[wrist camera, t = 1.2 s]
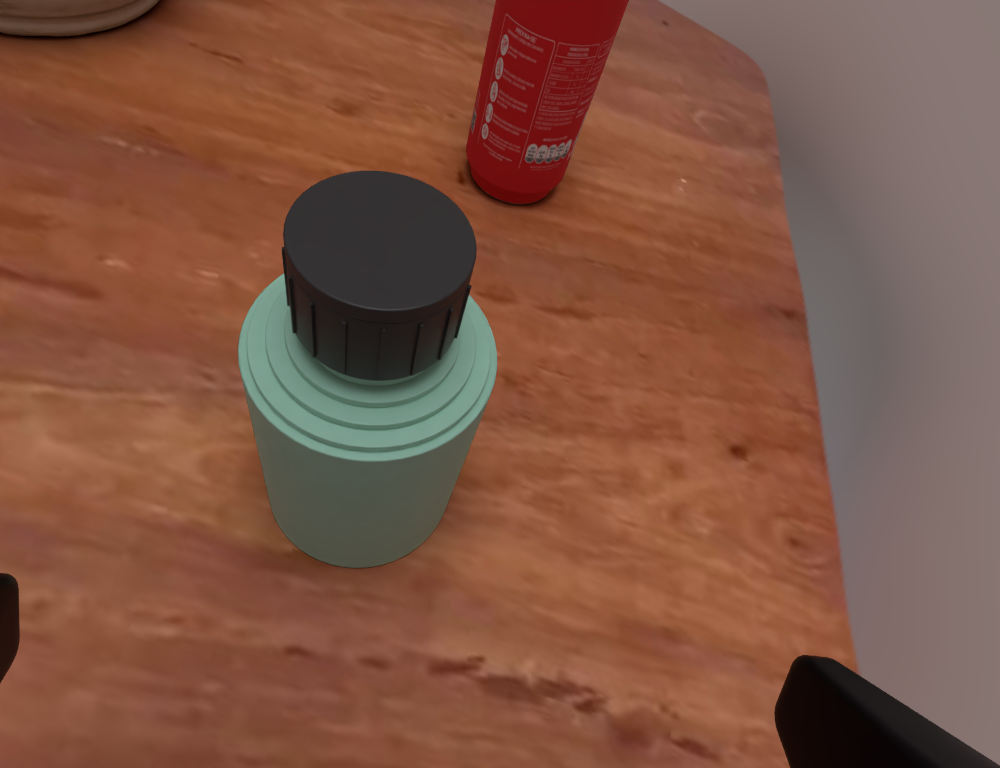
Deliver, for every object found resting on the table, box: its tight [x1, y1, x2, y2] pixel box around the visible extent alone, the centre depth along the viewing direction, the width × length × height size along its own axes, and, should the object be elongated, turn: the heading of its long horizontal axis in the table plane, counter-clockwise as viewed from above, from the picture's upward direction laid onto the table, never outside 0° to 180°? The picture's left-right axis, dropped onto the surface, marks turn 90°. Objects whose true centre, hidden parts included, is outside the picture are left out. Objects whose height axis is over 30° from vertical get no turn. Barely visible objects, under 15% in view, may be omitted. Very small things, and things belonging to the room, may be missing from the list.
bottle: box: [238, 274, 497, 568], centre depth 18 cm, size 6×6×12 cm
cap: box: [282, 171, 476, 381], centre depth 14 cm, size 4×4×3 cm
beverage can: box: [466, 0, 629, 205], centre depth 29 cm, size 5×5×12 cm
